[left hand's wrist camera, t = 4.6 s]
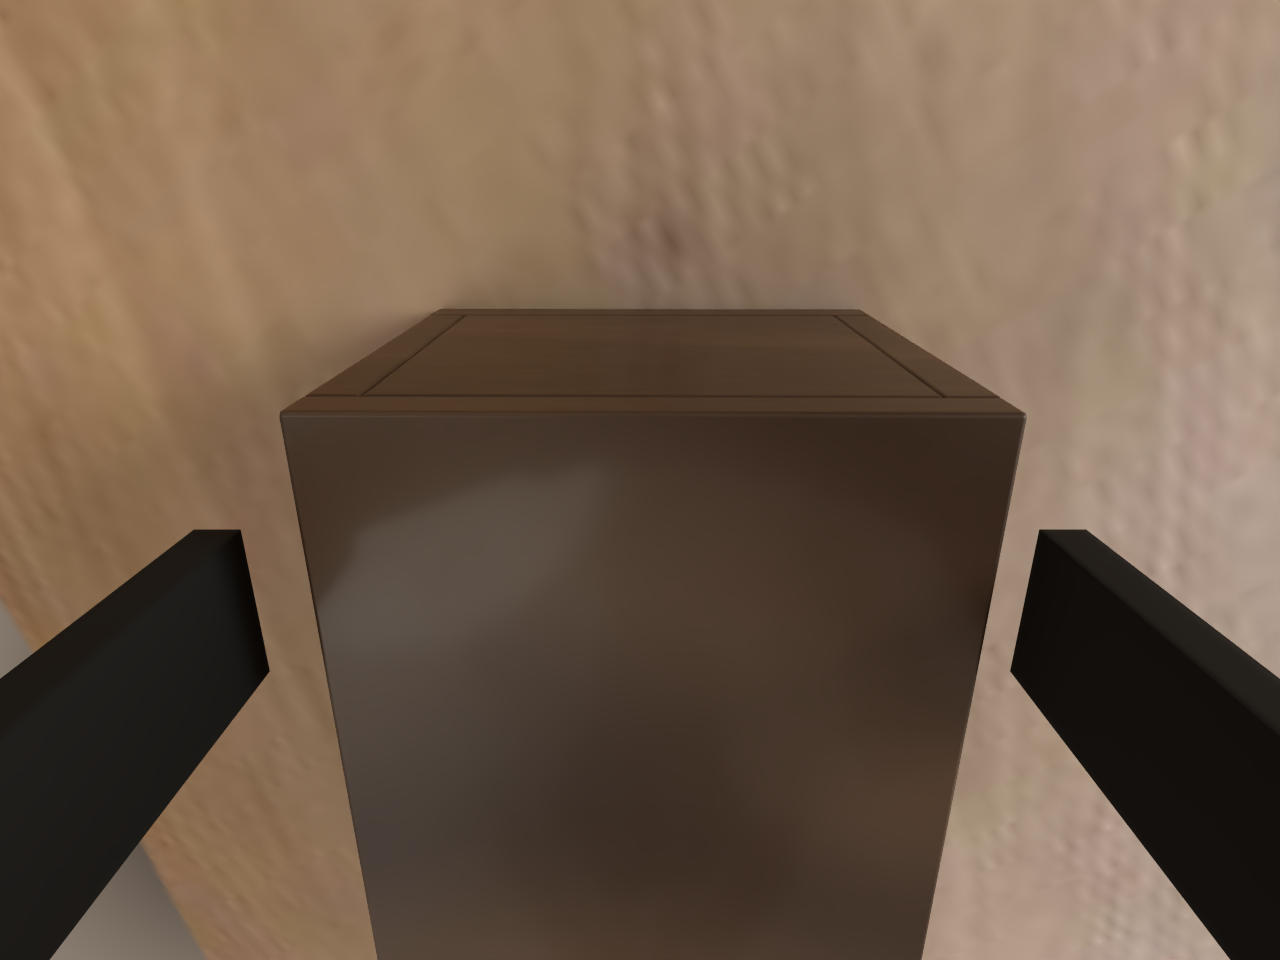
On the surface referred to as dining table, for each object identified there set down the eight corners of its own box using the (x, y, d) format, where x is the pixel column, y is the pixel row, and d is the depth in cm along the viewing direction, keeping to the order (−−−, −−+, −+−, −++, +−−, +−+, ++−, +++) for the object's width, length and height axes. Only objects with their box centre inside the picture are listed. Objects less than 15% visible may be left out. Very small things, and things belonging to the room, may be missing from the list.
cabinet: (804, 848, 25) (881, 1174, 17) (489, 846, 25) (414, 1169, 17) (861, 309, 18) (1030, 413, 10) (437, 308, 18) (276, 411, 10)
